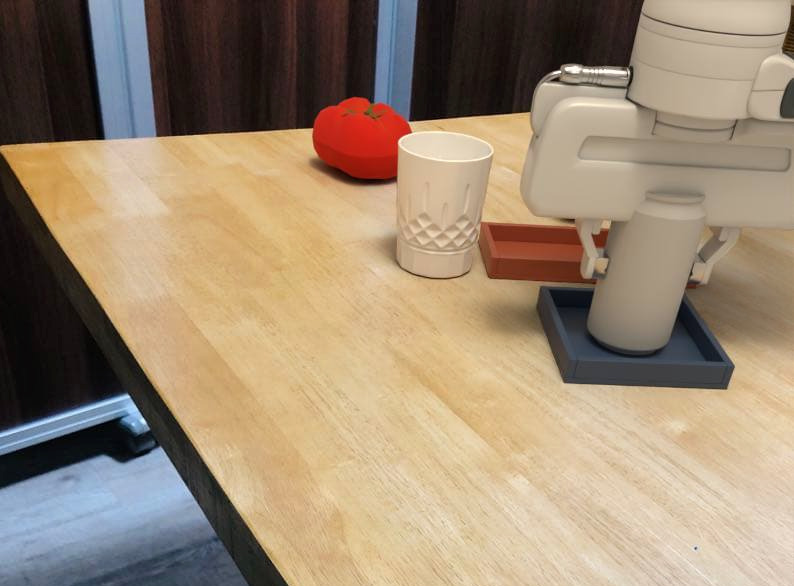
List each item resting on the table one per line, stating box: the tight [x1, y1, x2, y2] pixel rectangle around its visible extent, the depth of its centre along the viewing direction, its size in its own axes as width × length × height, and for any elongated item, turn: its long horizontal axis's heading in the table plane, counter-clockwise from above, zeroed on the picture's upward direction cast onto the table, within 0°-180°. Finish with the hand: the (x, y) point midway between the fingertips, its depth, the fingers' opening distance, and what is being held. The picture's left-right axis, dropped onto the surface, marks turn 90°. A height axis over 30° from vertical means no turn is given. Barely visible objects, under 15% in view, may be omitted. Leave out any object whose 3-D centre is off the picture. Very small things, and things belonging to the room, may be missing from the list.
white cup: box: [395, 130, 495, 279], centre depth 74 cm, size 8×8×10 cm
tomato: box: [311, 96, 413, 180], centre depth 93 cm, size 10×11×6 cm
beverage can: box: [587, 192, 707, 355], centre depth 63 cm, size 6×6×12 cm
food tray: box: [477, 221, 699, 289], centre depth 79 cm, size 19×8×2 cm, turn 92°
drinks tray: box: [535, 285, 736, 390], centre depth 67 cm, size 12×12×2 cm
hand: (642, 278), depth 64 cm, fingers closed on beverage can, 6 cm apart
